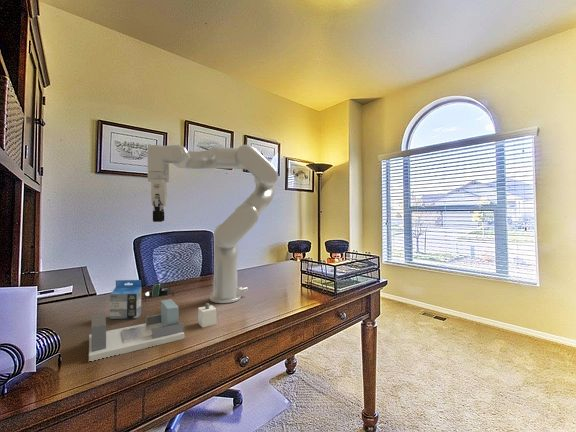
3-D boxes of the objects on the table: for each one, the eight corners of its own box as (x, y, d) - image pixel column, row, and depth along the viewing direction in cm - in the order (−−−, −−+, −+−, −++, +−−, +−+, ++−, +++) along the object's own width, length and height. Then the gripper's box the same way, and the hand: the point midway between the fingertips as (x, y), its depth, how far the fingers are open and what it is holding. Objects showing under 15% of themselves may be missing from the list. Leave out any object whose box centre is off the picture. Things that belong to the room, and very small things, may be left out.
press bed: (173, 319, 89) (173, 300, 89) (183, 331, 79) (183, 311, 79) (91, 335, 76) (91, 314, 76) (91, 353, 67) (91, 328, 67)
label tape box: (108, 319, 92) (108, 282, 92) (115, 315, 96) (115, 279, 96) (136, 319, 93) (136, 282, 92) (141, 314, 97) (141, 279, 96)
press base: (172, 322, 90) (172, 317, 90) (184, 338, 78) (184, 333, 78) (89, 339, 77) (89, 334, 77) (88, 362, 66) (88, 355, 66)
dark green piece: (149, 290, 128) (149, 278, 128) (183, 289, 131) (183, 277, 131) (138, 300, 113) (138, 287, 113) (176, 298, 116) (176, 285, 116)
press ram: (171, 320, 87) (171, 299, 87) (178, 330, 80) (178, 307, 80) (160, 322, 85) (161, 300, 85) (167, 332, 78) (167, 308, 78)
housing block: (211, 320, 92) (211, 300, 92) (216, 324, 89) (216, 304, 89) (198, 323, 90) (198, 303, 90) (202, 327, 86) (202, 306, 86)
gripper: (167, 175, 101) (167, 221, 101) (170, 180, 117) (170, 220, 118) (144, 174, 99) (144, 222, 99) (150, 179, 115) (151, 221, 115)
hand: (158, 221), depth 108 cm, fingers open, 9 cm apart
